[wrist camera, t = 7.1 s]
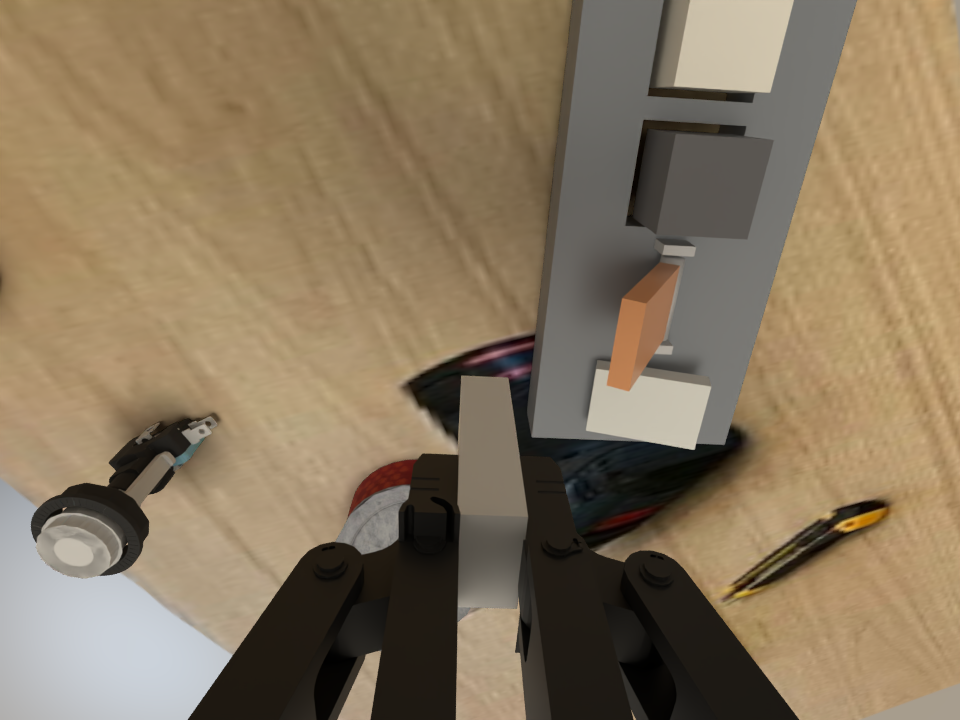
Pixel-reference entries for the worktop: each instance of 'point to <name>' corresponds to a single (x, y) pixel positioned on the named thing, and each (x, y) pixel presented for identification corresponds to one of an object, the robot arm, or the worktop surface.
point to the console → (637, 250)
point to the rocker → (650, 407)
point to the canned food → (380, 511)
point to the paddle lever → (644, 321)
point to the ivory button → (719, 45)
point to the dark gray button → (700, 183)
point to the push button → (113, 505)
